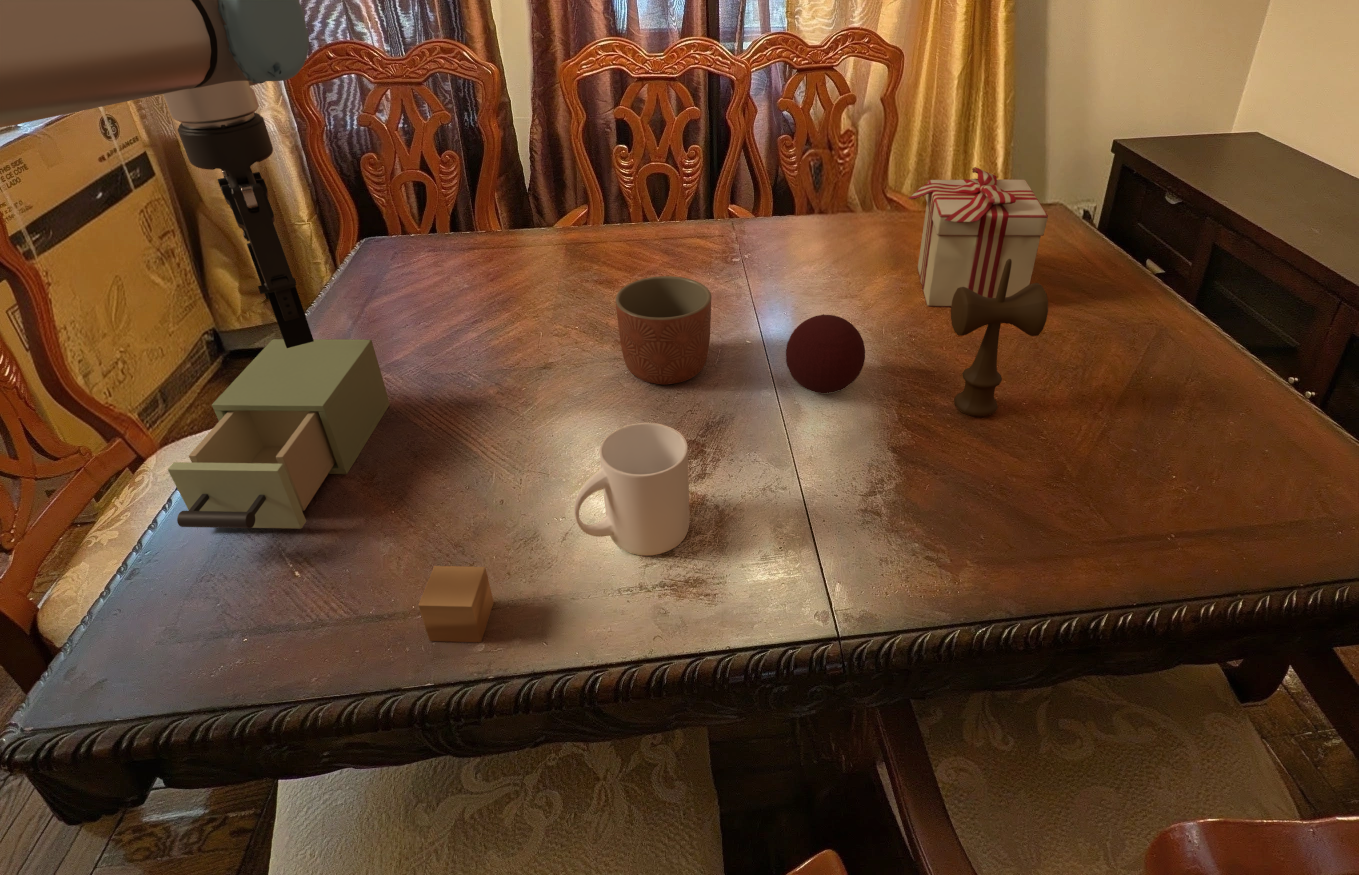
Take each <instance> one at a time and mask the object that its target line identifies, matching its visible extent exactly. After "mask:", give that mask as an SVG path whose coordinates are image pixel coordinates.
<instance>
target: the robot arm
mask: <svg viewBox="0 0 1359 875" xmlns="http://www.w3.org/2000/svg"><path fill="white" fill-rule="evenodd" d="M309 47H310V38H309V30H308V28H307V21H306V20H305V12H304V9H303V7H302V4H301V2H300V0H0V129H1V128H6V127H11V126H16V125H21V124H26V123H30V122H34V121H40V120H45V119H49V118H54V117H55V118H56V117H59V116H64V115H69V114H74V113H78V112H83V111H88V110H92V109H97V108H102V107H107V106H112V105H117V104H122V103H126V102H131V101H135V100H136V101H137V100H140V99H145V98H150V97H155V96H161V95H162V96H163V98H164V100H165V103H166V105H167V108H168V111H169V113H170V116H171V118H172V119H173V120H175V121H177V122H179V123H180V124H178V127H177V133H178V135H179V137H180V140H181V144H182V146H183V149H184V151H185V154H186V157H187V159H188V161H189V163H190V164H191V165H192V166H194V167H195V168H198V169H202V170H209V171H214V170H216V169H217V170H221V172H222V176H223V177H221V178H217V179H216V180H217V183H218V185H219V188H220V190H221V193H222V196H223V197H224V200H225V202H226V204H227V205H229V208H230V209H231V211H232V214H233V216H234V220H235V221H236V224H237V227H238V228H239V229H241V230H242V235H243V238H244V239H245V240H246V242H248V243H246V246H247V249H248V252H249V255H250V257H251V260H252V263H253V265H254V269H255V271H256V275H257V277H258V279H259V283H260V285H257V289H258V291H259V294H260V295H263V294H264V296H265V299H266V300H269V303H270V306H271V308H272V311H273V315H274V317H275V320H276V323H277V326H278V328H279V331H280V334H281V337H282V339H283V340H284V342H285V345H286V348H290V347H294V346H298V345H302V344H306V343H310V342H313V341H314V340H313V339H314V337H313V334H312V331H311V328H310V325H309V322H308V319H307V315H306V313H305V311H304V307H303V304H302V301H301V298H300V294H299V292H298V288H297V281H296V278H295V277H294V276H293V274H292V271H291V269H290V266H289V263H288V261H287V257H286V255H285V251H284V249H283V246H282V243H281V241H280V238H279V235H278V232H277V229H276V227H275V221H276V219H275V214H274V211H273V208H272V205H271V203H270V200H269V190H268V188H267V185H266V182H265V179H264V178H262V175H261V172H260V171H256V172H253V170H252V166H253V165H254V164H256V163H261V162H264V161H265V160H267V159H268V158H269V157H271V156H272V154H273V152H274V147H273V144H272V141H271V138H270V134H269V131H268V128H267V125H266V122H265V119H264V117H263V116H262V115H260V114H259V113H257V112H256V111H257V110H258V109H259V102H258V99H257V96H256V92H255V90H254V89H253V88H252V86H256V85H259V84H264V83H266V82H284V81H288V80H290V79H292V78H294V77H295V76H297V75H298V74H299V72H300V71H301V70H302V69H303V67H304V65H305V63H306V60H307V57H308V53H309Z"/></svg>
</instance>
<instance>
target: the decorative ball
mask: <svg viewBox="0 0 1359 875" xmlns="http://www.w3.org/2000/svg"><path fill="white" fill-rule="evenodd" d="M865 360H866V347H865V342H864V339H863V337H862V335H861V333H860V331H859V329H857V328H856V327H855V325H853V324H852V323H851V322H850V321H848V320H847V319H845V318H844V317H840V316H839V315H838V316H836V315H833V314H820V315H818V314H817V315H814V316H811V317H809V318H807V319H805V320H804V321H802V322H801V323H799V325H798V326H796V327H795V329H794V330H793V331H792V332H791V334H790V336H789V339H788V341H787V343H786V348H785V363H786V366H787V369H788V372H789V373H790V375H791V377H792V378H793V380H795V382H796V383H797V384H798V385H800V386H801V387H802V388H803V389H806V390H807V391H810V392H812V393H815V394H825V395H826V394H834V393H837V392H839V391H840V392H841V391H842V390H845V389H846V388H847V387H849V386H850V385H851V384H854V382H855V381H856V379H857V378H858V377H859V376H860V374H861V372H862V370H863V368H864V364H865Z"/></svg>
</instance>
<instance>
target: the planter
mask: <svg viewBox="0 0 1359 875" xmlns="http://www.w3.org/2000/svg"><path fill="white" fill-rule="evenodd" d="M615 308H616V309H615V310H616V317H617V325H618V334H619V341H620V348H621V351H622V357H623V361H624V363H625V365H626V368H627V369H628V371H629V372H630V373H631V374H632V375H633V376H634V377H635V378H637V379H639V380H641V381H644V382H646V383H650V384H655V385H675V384H680V383H682V382H686V381H688V380H691V379H692V378H694V377H696V376H697V375H698V374H699V373H700V372H702V370H703V369H704V367H705V366H706V363H707V360H708V357H709V350H710V343H711V342H710V341H711V340H710V339H711V323H712V322H711V320H712V293H711V291H710V290H709V288H708V287H707V286H705V284H703V283H701V282H699V281H697V280H694V279H691V278H689V277H688V278H687V277H682V276H675V275H674V276H672V275H661V276H659V275H658V276H650V277H646V278H641V279H637V280H635V281H632V282H630V283H628V284H627V285H625V286H623V287H622V288H620V290H619V291H618V292H617V293H616V295H615Z"/></svg>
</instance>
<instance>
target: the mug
mask: <svg viewBox="0 0 1359 875" xmlns="http://www.w3.org/2000/svg"><path fill="white" fill-rule="evenodd" d="M598 454H599V456H598V457H599V462H600V463H599V464H600V468H599V469H598V470H597V471H596V472H594V473H593V474H592V475H591V476H590V477H589V478H587V480H586V481H585V482H584V483H583V484H582V486H581V487H580V489H579V491H578V492H577V495H576V497H575V500H574V505H573V513H574V514H573V515H574V518H575V522H576V524H577V526H578V527H579V529H580V530H581V531H582V532H583V533H585V534H586V535H588V536H591V537H596V538H597V537H599V538H600V537H601V538H602V537H610V539H611V541H612V542H613V543H614V544H615V545H616V546H617V547H618V548H620V549H621V550H623V551H625V552H627V553H629V554H632V555H635V556H636V555H637V556H657V555H661V554H665V553H667V552H670V551H671V550H673V549H675V548H676V547H678V546H679V545H680V544H681V543H682V542H683V541H684V539H685V538H686V536H687V534H688V532H689V529H690V523H691V522H690V519H691V518H690V480H689V477H690V476H689V474H690V473H689V446H688V441H687V439H686V438H685V437H684V436H683V434H682V433H681V432H679V431H678V430H677V429H675V428H673V427H671V426H669V425H666V424H661V423H657V422H638V423H631V424H627V425H624V426H621V427H619V428H617V429H615V430H613V431H611V432H610V433H609V434H607V435H606V436H605V437H604V439H603V440H602V442H601V443H600V445H599V449H598ZM601 490H602V491H603V492H602V493H603V501H604V511H605V516H604V517H603V518H601V520H599V521H598V522H595V523H593V524H586V523H584V522H583V521H582V519H581V517H580V510H581V506H582V505H583V503H584V502H585V500H586V499H587V498H589V497H590V496H591V495H593V494H594V493H596V492H598V491H601Z"/></svg>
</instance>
